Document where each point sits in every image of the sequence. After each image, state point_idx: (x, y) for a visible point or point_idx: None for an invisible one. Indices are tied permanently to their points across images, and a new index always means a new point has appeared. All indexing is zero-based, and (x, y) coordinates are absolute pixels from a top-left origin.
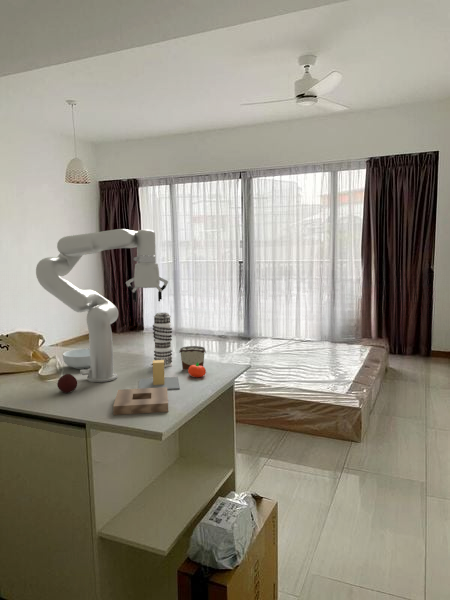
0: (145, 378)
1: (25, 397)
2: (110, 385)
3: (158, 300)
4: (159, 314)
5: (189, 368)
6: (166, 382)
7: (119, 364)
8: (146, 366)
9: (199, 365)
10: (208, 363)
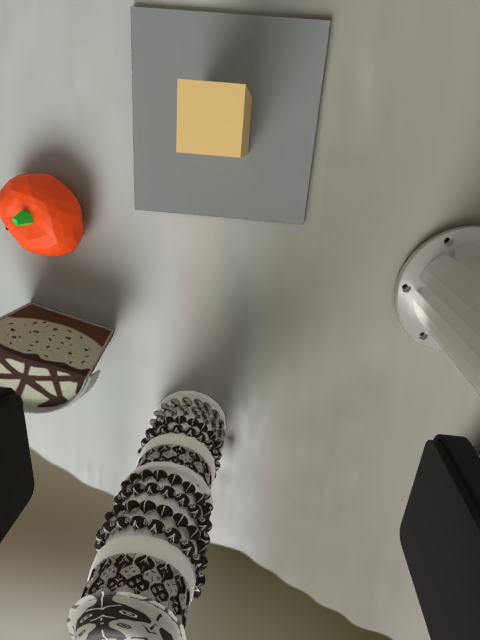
0: (278, 218)
1: None
2: (442, 168)
3: (8, 396)
4: (138, 631)
5: (68, 216)
6: None
7: (361, 470)
8: (258, 416)
9: (33, 314)
10: None
